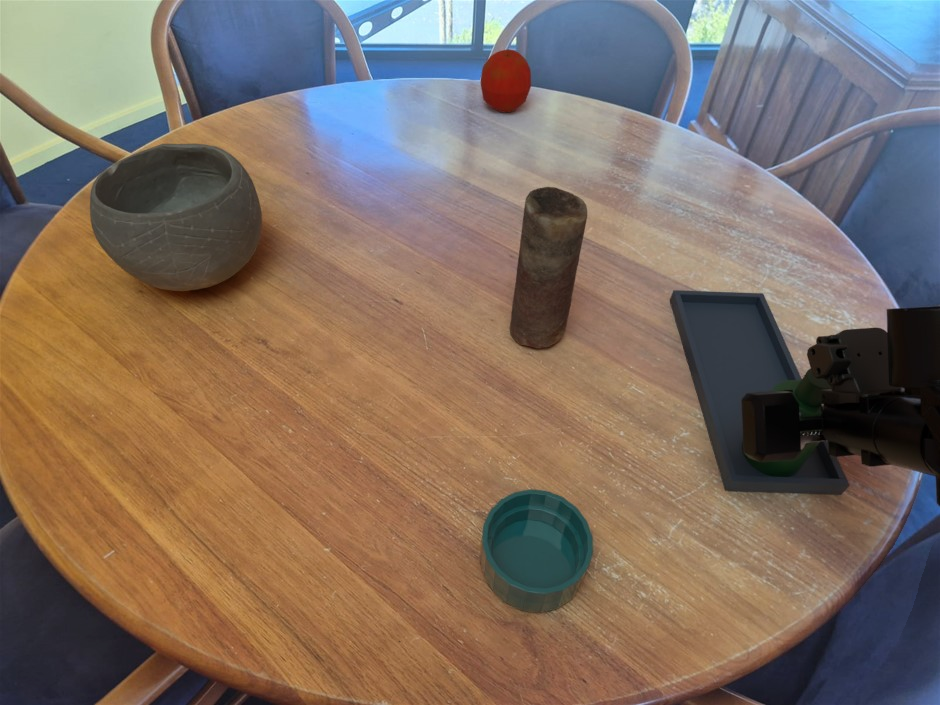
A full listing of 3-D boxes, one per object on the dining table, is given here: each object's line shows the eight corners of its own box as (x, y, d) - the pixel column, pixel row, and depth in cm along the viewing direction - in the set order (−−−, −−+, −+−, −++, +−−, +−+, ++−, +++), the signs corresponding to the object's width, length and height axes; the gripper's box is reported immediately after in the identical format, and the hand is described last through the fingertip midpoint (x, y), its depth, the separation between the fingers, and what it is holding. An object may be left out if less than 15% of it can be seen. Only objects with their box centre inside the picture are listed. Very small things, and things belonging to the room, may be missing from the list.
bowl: (232, 330, 82) (198, 236, 71) (90, 303, 84) (36, 209, 73) (297, 236, 96) (278, 146, 85) (173, 216, 98) (139, 126, 87)
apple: (490, 92, 132) (493, 35, 123) (535, 102, 129) (541, 44, 121) (472, 112, 125) (473, 53, 117) (518, 122, 123) (524, 63, 114)
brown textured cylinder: (531, 304, 86) (549, 177, 72) (576, 329, 83) (603, 201, 69) (498, 333, 82) (509, 205, 68) (543, 360, 79) (565, 231, 65)
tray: (841, 495, 67) (850, 485, 66) (725, 491, 67) (731, 481, 65) (758, 303, 88) (763, 293, 86) (669, 300, 88) (673, 289, 86)
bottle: (809, 478, 68) (868, 403, 58) (752, 477, 68) (801, 403, 58) (788, 430, 72) (840, 354, 63) (734, 430, 72) (777, 353, 62)
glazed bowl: (604, 558, 61) (614, 534, 58) (542, 638, 56) (549, 617, 52) (523, 496, 66) (527, 471, 62) (459, 565, 60) (459, 541, 57)
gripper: (1005, 326, 51) (866, 327, 67) (793, 341, 49) (700, 339, 65) (1010, 459, 52) (870, 430, 67) (799, 479, 50) (706, 444, 65)
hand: (788, 408), depth 66 cm, fingers closed on bottle, 6 cm apart
